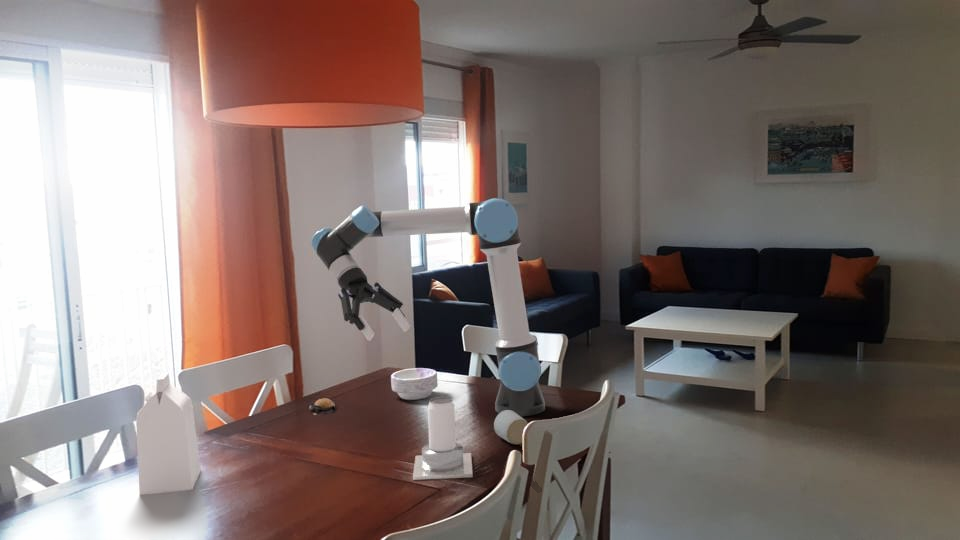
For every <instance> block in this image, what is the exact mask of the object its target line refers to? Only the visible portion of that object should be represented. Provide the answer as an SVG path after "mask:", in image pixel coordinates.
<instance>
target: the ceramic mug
mask: <svg viewBox="0 0 960 540" xmlns="http://www.w3.org/2000/svg"><path fill="white" fill-rule="evenodd" d="M527 424H529V423H528V421H527V420H526V419H524V418H523V416H519V415H518V414H517V413H515V412H514V411H511V410H504V411H502V412H500V413H498V414H497V415H496V417H495V419H494V422H493V430H494V432H495V434H496V435H497V436H498V437H500V438H502V439H503V440H504V441H506V442H507V443H510V444H511V445H514V446H515V445H517V446H518V445H522V444H523V443H522V433H523V429H524V427H525V426H526V425H527Z"/></svg>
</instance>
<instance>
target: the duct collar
mask: <svg viewBox="0 0 960 540" xmlns="http://www.w3.org/2000/svg"><path fill="white" fill-rule="evenodd" d="M412 472H413V474H412V481H421V480H425V481H426V480H442V479H462V478H464V479H465V478H473V463H472V453H471V452H468V453H467V452H465V453H464V446H463V445H462V444H460V443H458V442H456V447H455V448H454V449H453V450H451V451H448V452H435V451H432V450H431V449H430V447H429V443H428V444H426V445H424V446H423V447H422V448H421V455H415V458H414V465H413V471H412Z"/></svg>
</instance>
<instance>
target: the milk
mask: <svg viewBox="0 0 960 540" xmlns="http://www.w3.org/2000/svg"><path fill="white" fill-rule="evenodd" d="M143 400H144V401H145V404H144V405H142V407H141V408H140V409H139V411H137V414H136V418H135V421H136V425H135V426H136V444H137V446H136V447H137V465H138V486H139V489H138V490H139V496H143V495H151V494H152V495H153V494H161V493H162V494H163V493H170V492H171V493H173V492H179V491H180V492H181V491H190V490H194V489H193V488H194V487H195V485H196V482H197V480H198V479H199V475H200V473H201V470H202V468H201V462H200V461H201V460H200V453H199V447H198V437H197V430H196V423H195V422H196V421H195V415H194V409H193V408H194V407H193V402H192V399H191V398H190V397H189V396H188V394H186V393H185V392H183V391H182V390H180V389H179V388H177V387H176V386H175V385H173V384H172V383H170V376H169V373H168V372H165V373H161V374H160V375H159V376H158V378H157V379H156V390H155V391H154V389H152V390H150V391H149V393H148V394H147V395H146V396H145V398H144V399H143Z"/></svg>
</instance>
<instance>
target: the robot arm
mask: <svg viewBox="0 0 960 540" xmlns="http://www.w3.org/2000/svg"><path fill="white" fill-rule="evenodd" d="M454 233H455V234H458V233H468V234H469V235H470V236H477V239H478V245H479V250H480V251H481V252H482V253H483V254H485V256H486V261H487V266H488V267H487V268H488V273H489V281H490V286H491V292H492V293H491V294H492V298H493V299H492V300H493V304H494V305H493V307H494V311H495V316H496V318H495V319H496V323H497V324H496V325H497V331H498V336H499V337H498V340H496V342H495V352H496V358H497V365H498V370H497V372H498V378H499V381H500V384H499V388H498V392H497V395H496V400H495V402H494V404H495V406H494V409H495V412H496V413H498V414H499V413H500V412H502V411H504V410H511V411H514V412H515V413H517V414H518V415H519V416H520V417H529V416H530V417H531V416H535V415H539V414H541V413H543V412H545V410H546V402H545V401H546V400H545V399H544V396H543V393H542V390H541V388H540V387H541V386H540V383H539V380H540V377H541V374H542V366H541V363H540V359H539V348H538V346H539V342H538V338H537V336H536V335H535V334H534V335H533V334H531V333H530V328H529V321H528V316H527V315H528V314H527V308H526V303H525V295H524V290H523V283H522V276H521V270H520V263H519V258H518V248H519V247H520V246H521V245H522V240H521V233H520V227H519V216H518V212H517V210H516V209H515V207H514V205H513V204H512V203H511V202H510V201H508V200H506V199H505V198H499V197H495V198H494V197H493V198H489V199H487V200H483V201H478V202H468V203H467V205H466V206H453V207H452V206H451V207H437V208H436V207H435V208H434V207H433V208H418V209H415V208H414V209H399V210H383V211H372V210H371V209H370V208H369V207H368V206H366V205H360V206H359V207H358V208H356V209H355V210H353V211H352V212H351V213H350V214H349V215H348V216H347V217H346V218H345V219H344V220H343V221H342V222H341V223H340V224H339V225H338V226H337V227H335V228H334V229H332V228H331V227H324V228H322V229H321V230H318V231H316V233H314V235H313V236H312V238H311V242H310V243H311V246H312V248H313V249H314V251H315V253H316V255H317V256H318V257H319V258H320V260H321V261H322V262H323V264H324V265H325V267H326V268H327V270H328V271H329V272H330V274H331V275H332V277H333V279H335V281H336V282H337V284H338V286H339V287H340V288H341V289H340V291H339V292H338V293H337V296H338V297H339V300H340V302H341V309H342V314H343V320H344V321H345V322H349V324H351V325H355V326H356V328H357V329H358V330H359V331H360V332H361V333H362V334H363V336H364V338H365V339H366V340H367V342H371V341H372V339H373V338H374V337H375V335H376V333H375V332H374V331H373V329H372V327H371V326H370V325H369V323H368V322H367V320H366V319H365V318H364V316H363V315H360V309H361V308H360V307H361V304H363V303H369V302H370V303H371V304H376V305H378V306H380V307H382V308H384V309H385V310H387V311H389V312H391V316H392V318H393V319H394V320H395V321H396V323H397V324H398V326H399V327H400V329H402V331H403V333H406V332H408V330H409V329H410V328H411V327H412V325H411V324H410V322H409V321H408V319H407V318H406V316H405V314H404V313H403V311H402V310H401V308H402V306H403V305H404V303H403V302H402V301H401V300H399V298H397V297H395V296H394V295H393V294H391V293H390V292H388V291H387V290H386V289H384V287H382V286H381V284H380V283H379V282H377V281H376V282H375V283H374V284H373V285H371V284H370V283H369V282H368V277H367V275H366V274H365V272H364V271H363V270H362V269H361V267H360V265H359V264H358V263H357V261H356V260H355V258H354V257H353V255H352V254H351V253H350V251H352V250H353V249H354V248H355V247H356V246H358V245H359V243H361V242H362V241H363V240H365V239H367V238H379V237H380V238H382V237H395V236H416V235H418V236H419V235H437V234H439V235H440V234H454ZM350 298H351V299H352V300H351V299H350Z"/></svg>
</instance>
